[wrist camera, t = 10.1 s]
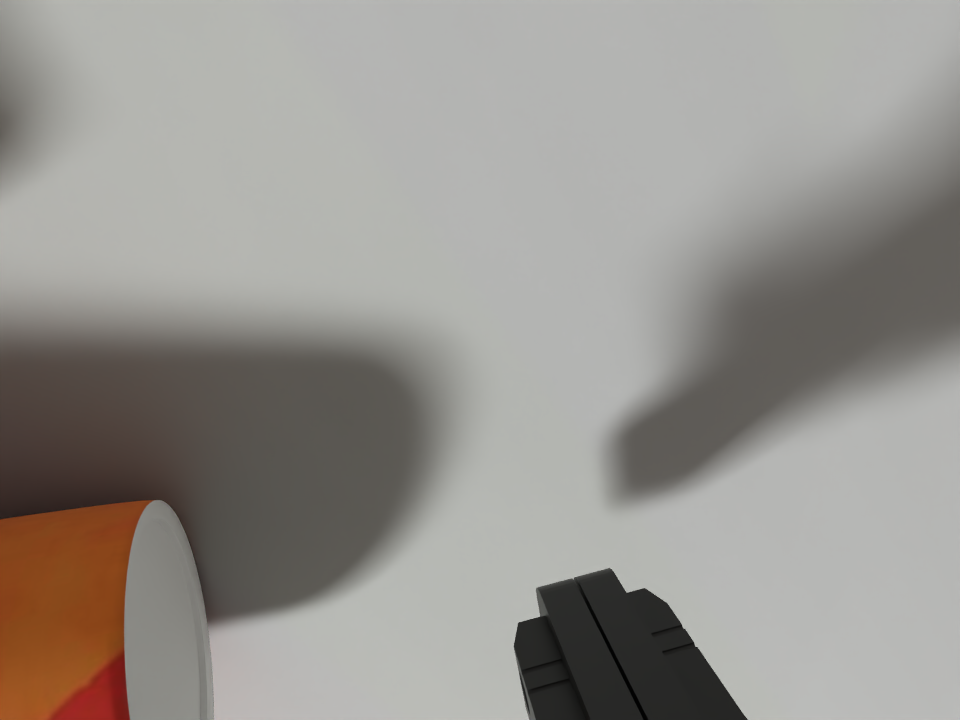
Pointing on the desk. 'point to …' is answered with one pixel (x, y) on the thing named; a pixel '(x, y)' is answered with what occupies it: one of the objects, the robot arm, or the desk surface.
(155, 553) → the paper cup
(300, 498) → the desk surface
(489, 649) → the desk surface
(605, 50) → the desk surface
